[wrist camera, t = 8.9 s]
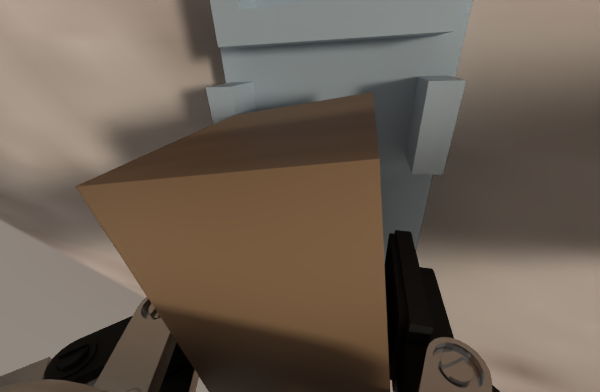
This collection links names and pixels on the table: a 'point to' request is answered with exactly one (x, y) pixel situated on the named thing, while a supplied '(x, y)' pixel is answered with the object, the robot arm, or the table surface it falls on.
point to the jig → (354, 77)
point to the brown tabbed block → (262, 246)
